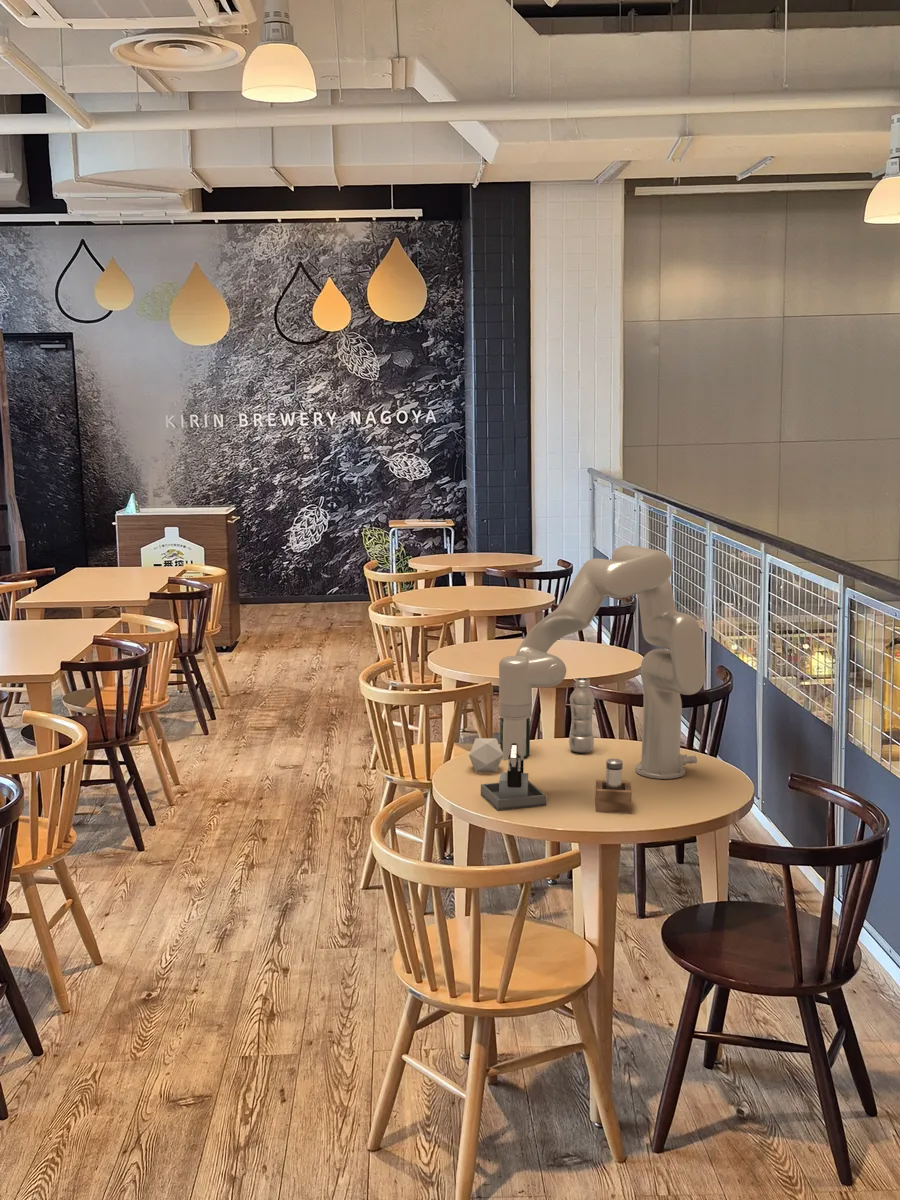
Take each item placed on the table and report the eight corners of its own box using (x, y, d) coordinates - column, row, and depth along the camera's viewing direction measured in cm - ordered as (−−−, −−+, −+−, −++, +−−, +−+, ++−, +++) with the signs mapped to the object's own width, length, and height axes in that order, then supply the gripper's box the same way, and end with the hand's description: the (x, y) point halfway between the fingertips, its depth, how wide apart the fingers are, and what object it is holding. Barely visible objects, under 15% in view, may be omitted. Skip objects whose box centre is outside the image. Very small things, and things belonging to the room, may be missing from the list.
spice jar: (616, 803, 271) (618, 757, 269) (623, 808, 267) (625, 762, 265) (602, 804, 269) (603, 759, 268) (609, 810, 266) (610, 763, 264)
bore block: (629, 801, 272) (630, 781, 271) (631, 813, 264) (631, 792, 263) (595, 800, 273) (595, 779, 272) (595, 811, 265) (596, 790, 264)
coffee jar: (498, 749, 314) (499, 682, 311) (527, 749, 314) (529, 682, 311) (500, 759, 304) (501, 690, 301) (530, 759, 304) (532, 690, 301)
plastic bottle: (593, 756, 308) (595, 682, 305) (567, 754, 309) (569, 681, 306) (594, 749, 314) (596, 677, 311) (569, 747, 315) (571, 676, 312)
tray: (527, 789, 280) (527, 779, 279) (546, 805, 268) (546, 795, 268) (480, 794, 276) (480, 784, 276) (497, 810, 265) (498, 800, 264)
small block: (528, 793, 275) (528, 773, 274) (526, 802, 269) (527, 781, 268) (500, 792, 276) (501, 772, 275) (498, 801, 270) (499, 780, 269)
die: (491, 780, 289) (512, 746, 291) (461, 761, 290) (481, 727, 291) (490, 782, 297) (510, 749, 299) (460, 763, 298) (480, 730, 300)
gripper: (501, 699, 278) (502, 768, 281) (496, 719, 261) (497, 792, 264) (533, 700, 277) (533, 769, 280) (530, 720, 260) (530, 793, 263)
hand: (515, 780), depth 272 cm, fingers open, 9 cm apart
